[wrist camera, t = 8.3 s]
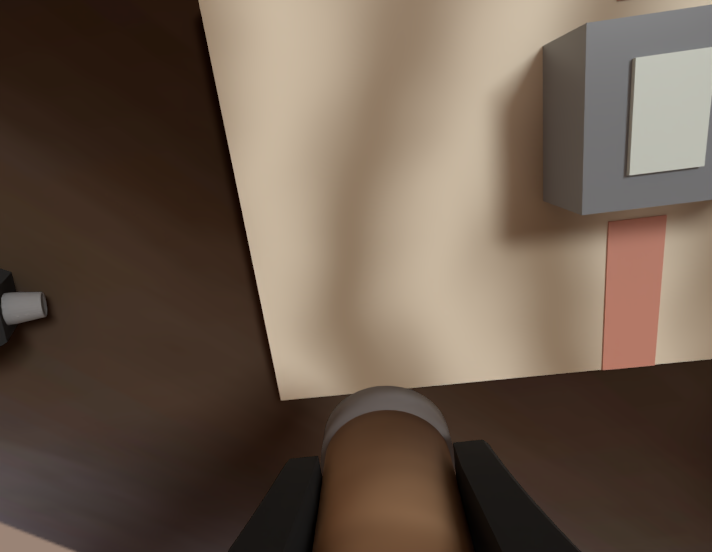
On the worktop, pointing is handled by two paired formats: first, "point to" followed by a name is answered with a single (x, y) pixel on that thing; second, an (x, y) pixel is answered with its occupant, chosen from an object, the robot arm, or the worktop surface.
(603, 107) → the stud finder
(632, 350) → the joist line
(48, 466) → the worktop surface
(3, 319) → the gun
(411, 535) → the brown cylinder
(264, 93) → the board
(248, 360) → the worktop surface
